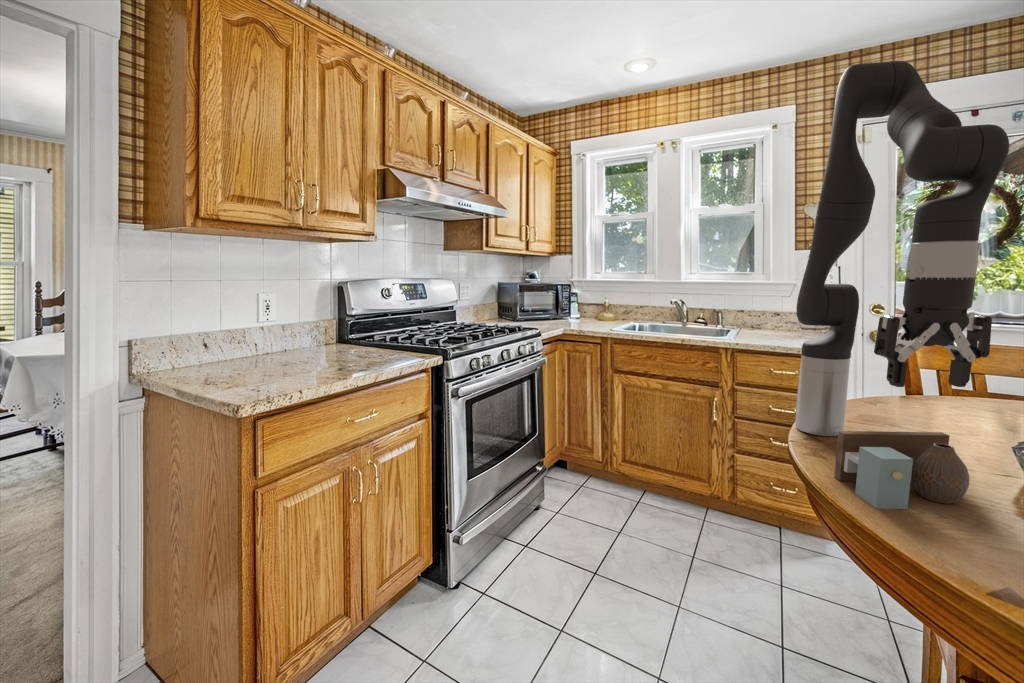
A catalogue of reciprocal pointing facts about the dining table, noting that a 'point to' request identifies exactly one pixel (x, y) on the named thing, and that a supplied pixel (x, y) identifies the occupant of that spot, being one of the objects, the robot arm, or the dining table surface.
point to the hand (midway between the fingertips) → (926, 385)
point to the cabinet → (881, 476)
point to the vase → (940, 474)
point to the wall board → (883, 445)
